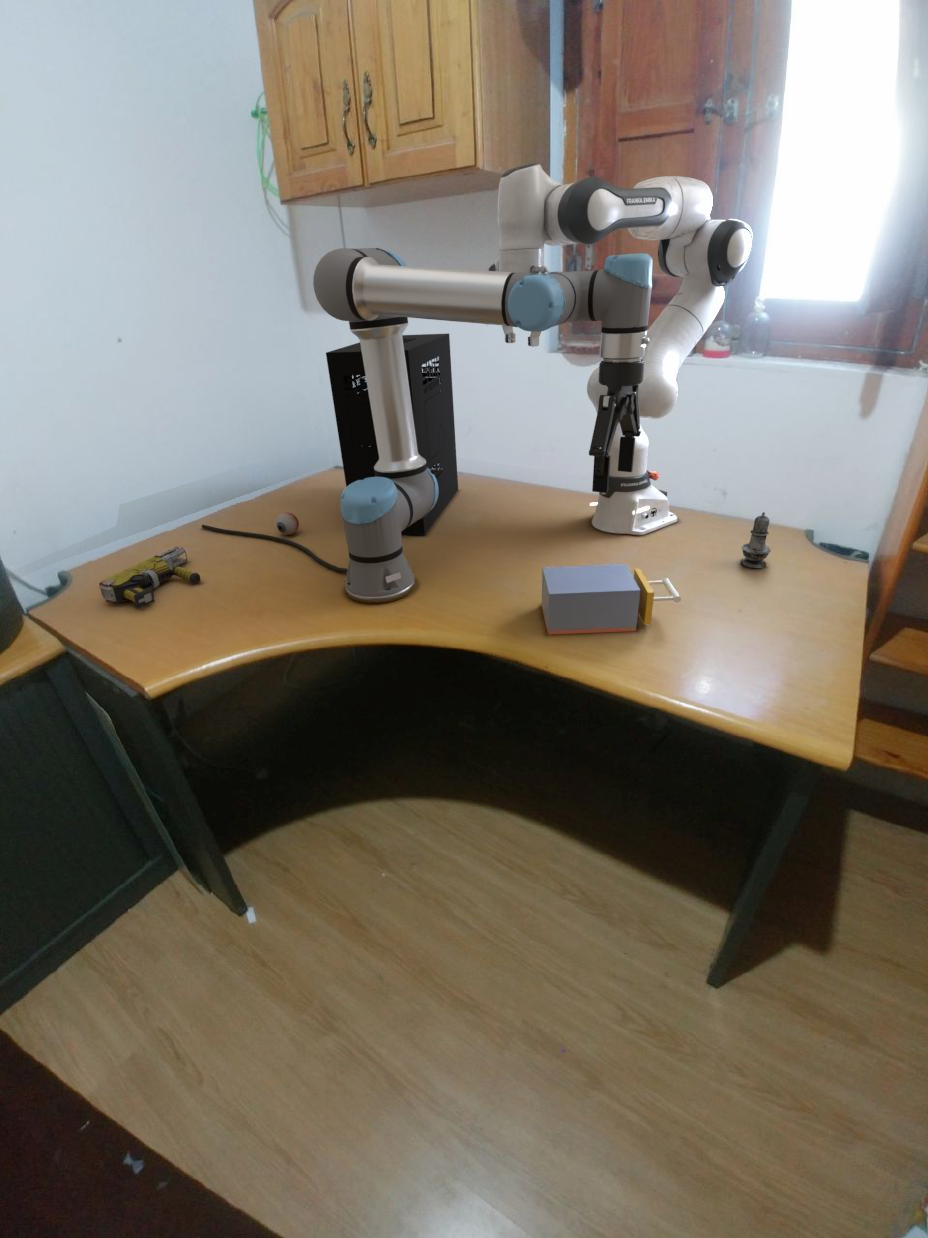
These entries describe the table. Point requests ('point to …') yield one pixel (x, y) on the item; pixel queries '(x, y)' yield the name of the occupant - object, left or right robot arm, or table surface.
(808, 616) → the table surface
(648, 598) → the drawer
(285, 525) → the eyeball
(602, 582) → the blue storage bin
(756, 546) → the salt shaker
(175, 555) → the toy gun
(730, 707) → the table surface
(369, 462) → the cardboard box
